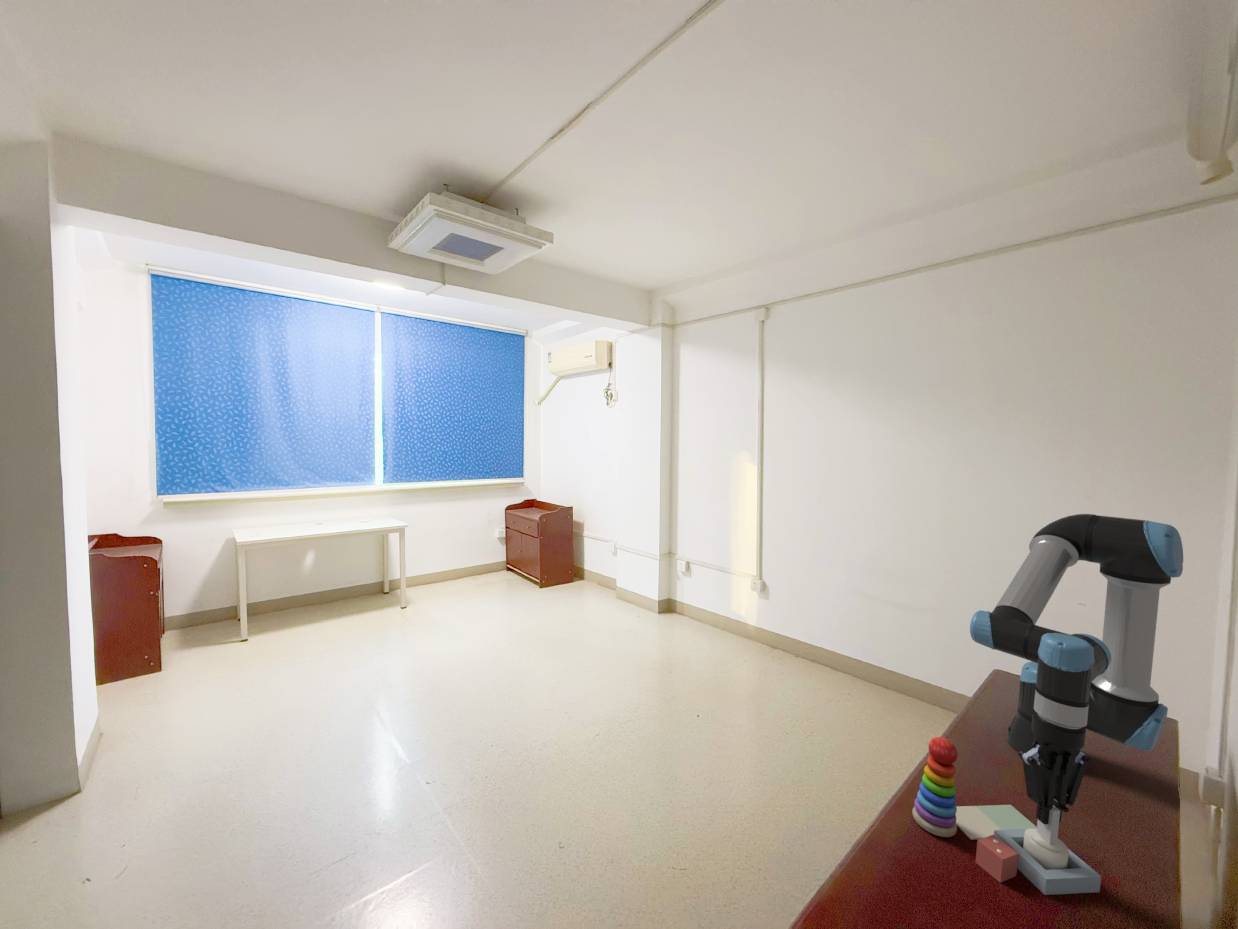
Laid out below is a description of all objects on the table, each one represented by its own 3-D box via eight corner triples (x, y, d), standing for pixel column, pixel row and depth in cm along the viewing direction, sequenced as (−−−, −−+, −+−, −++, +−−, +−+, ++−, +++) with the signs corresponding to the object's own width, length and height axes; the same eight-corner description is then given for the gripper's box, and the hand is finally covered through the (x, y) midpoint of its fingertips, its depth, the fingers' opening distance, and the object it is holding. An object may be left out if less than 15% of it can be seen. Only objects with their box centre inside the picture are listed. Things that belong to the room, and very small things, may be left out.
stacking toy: (940, 844, 99) (948, 754, 98) (903, 815, 107) (910, 732, 105) (965, 833, 102) (973, 746, 101) (928, 806, 110) (935, 724, 109)
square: (975, 807, 110) (975, 805, 110) (1009, 838, 102) (1009, 837, 102) (939, 808, 109) (940, 807, 109) (970, 840, 101) (970, 838, 101)
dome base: (1042, 842, 101) (1043, 828, 101) (1099, 892, 90) (1101, 876, 90) (992, 844, 100) (994, 830, 100) (1044, 895, 89) (1046, 879, 89)
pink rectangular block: (991, 856, 97) (993, 834, 97) (1016, 876, 93) (1018, 852, 92) (975, 862, 95) (977, 839, 95) (1000, 882, 91) (1002, 859, 91)
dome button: (1043, 847, 98) (1045, 825, 98) (1075, 875, 92) (1078, 852, 92) (1013, 848, 98) (1016, 826, 98) (1044, 877, 91) (1047, 853, 91)
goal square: (1010, 806, 111) (1010, 804, 111) (1046, 837, 102) (1046, 835, 102) (975, 807, 110) (975, 805, 110) (1009, 838, 102) (1009, 837, 102)
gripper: (1070, 707, 98) (1058, 821, 99) (1009, 707, 96) (998, 823, 98) (1111, 730, 90) (1097, 853, 92) (1046, 731, 89) (1033, 855, 90)
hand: (1046, 837), depth 95 cm, fingers closed
